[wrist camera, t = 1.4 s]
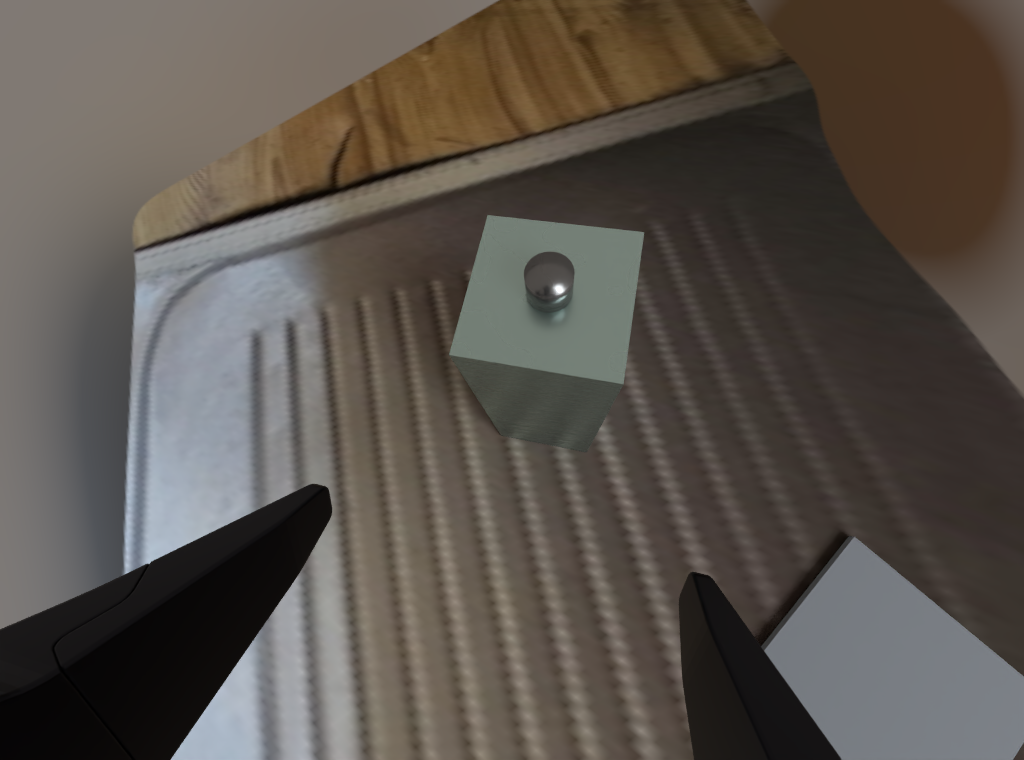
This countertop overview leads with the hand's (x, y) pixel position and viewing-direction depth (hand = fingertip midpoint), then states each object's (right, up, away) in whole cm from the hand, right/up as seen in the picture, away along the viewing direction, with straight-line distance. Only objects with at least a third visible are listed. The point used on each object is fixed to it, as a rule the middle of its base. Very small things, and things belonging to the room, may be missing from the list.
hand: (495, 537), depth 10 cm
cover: (+3, +3, +14) cm, 15 cm away
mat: (+17, -10, +8) cm, 22 cm away
